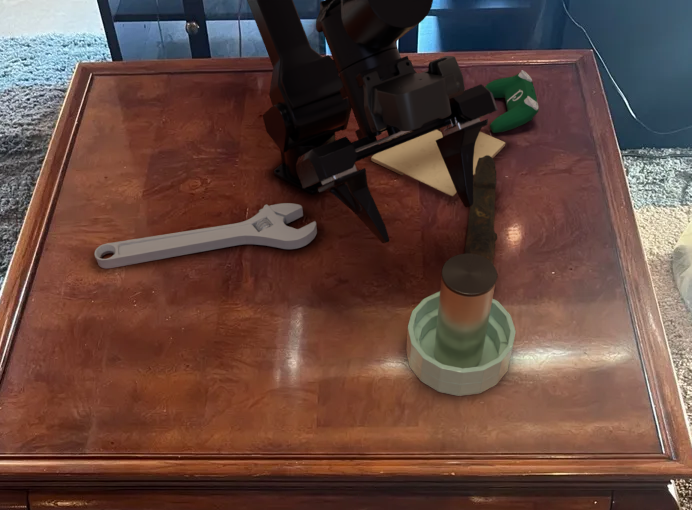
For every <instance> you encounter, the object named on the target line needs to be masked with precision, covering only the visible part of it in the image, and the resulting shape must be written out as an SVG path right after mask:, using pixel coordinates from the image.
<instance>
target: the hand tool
mask: <svg viewBox="0 0 692 510" xmlns="http://www.w3.org/2000/svg"><path fill="white" fill-rule="evenodd" d="M495 162H496V161H495V160H494V158H492V157H491V156H489V155H486V156H484V157H482V158H479V159H478V162H477V166H476V168H475V176H474V178H473V205H472V206H470V207H469V214H468V224H467V232H466V241H465V247H464V254H466V253H469V254H476V255H480V256H482V257H484V258H486V259H488V260H489V261H490V262H491V263H492V264H493V265H494V258H495V252H496V242H497V241H498V234H497V233H496V232H495V217H496V215H495V207H496V204H495V203H496V187H497V169H496V168H497V167H496V163H495ZM494 267H495V265H494ZM495 268H496V267H495ZM498 275H499V274H498V273H497V278H498V277H499V276H498Z"/></svg>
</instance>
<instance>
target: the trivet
mask: <svg viewBox="0 0 692 510" xmlns="http://www.w3.org/2000/svg"><path fill="white" fill-rule="evenodd" d="M442 137H443V136H442V133H441V132H440V131H438V130H435V131H432V132H430V133H427V134H425V135H422V136H420V137H417V138H415V139H412V140H410V141H407V142H405V143H402V144H400V145H397V146H394V147H392V148H389V149H387V150H384V151H382V152H379V153H377V154H374V155H372V156H370V157H371V158H370V161H371V162H373V163H375V164H377V165H379V166H382V167H384V168H385V169H388V170H389V171H391V172H394V173H396V174H397V175H400V176H404V175H406V176H407V177H410V178H411V179H414V180H416V181H418V182H420V183H422V184H424V185H427V186H429V187H430V188H433V189H435V190H438V191H440V192H441V193H444V194H446V195H448V196H450V197H452V198H453V197H454V196H455V195H456V194H457V191H456V189H455V187H454V184H453V182H452V179H451V177H450V174H449V172H448V170H447V167H446V165H445V162H444V160H443V158H442V155H441V153H440V151H439V148H438V146H437V143H436V140H438V139H440V138H442ZM505 146H506V141H503V140H500V139H499V138H496V137H495V136H492V135H489V134H487V133H485V132H482V131H480V132H479V135H478V137H477V140H476V142H475V148H474V158H473V179H474V176H475V168H476V166H477V162H478V159H479V158H482V157H484V156H486V155H489V156H491V157H492V158H493V159H494V158H495V157H496V155H498V154H499V153H500V152H501V151H502V150H503V149H504V147H505Z"/></svg>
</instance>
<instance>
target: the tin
mask: <svg viewBox="0 0 692 510" xmlns="http://www.w3.org/2000/svg"><path fill="white" fill-rule="evenodd" d="M494 266H495V265H494V263H493V264H492V263H491V262H490V261H489V260H488V259H486V258H484V257H482V256H480V255H476V254H469V253H466V254H465V253H459V254H456V255H453V256H451V257H450V258H449V259H448V260H446V261H445V262H444V264H443V265H442V268H441V272H440V273H441V275H440V277H441V278H440V279H441V280H440V289H439V291H440V298H439V308H438V317H437V327H436V337H435V347H434V356H435V358H436V360H437V361H438V362H439V363H441V364H443V365H448V366H453V367H458V368H470V367H476V366H477V365H478V364H479V363H480V361H481V358H482V354H483V348H484V343H485V337H486V332H487V326H488V321H489V316H490V310H491V305H492V299H494V293H495V288H496V283H497V281H498V277H497V276H498V275H497V274H498V271H497V268H496V267H494Z"/></svg>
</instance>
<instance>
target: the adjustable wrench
mask: <svg viewBox="0 0 692 510" xmlns="http://www.w3.org/2000/svg"><path fill="white" fill-rule="evenodd" d="M302 217H304V211H303V206H302V205H301V204H298V203H291V202H282V203H275V204H271V205H268V204H267V203H266V204H264V205H263V207H262V208H260V209H259V210H258V212H257V213H256V214H255V215H253V216H252V217H251V218H249V219H246V220H244V221H240V222H236V223H230V224H229V223H228V224H223V225H217V226H211V227H204V228H197V229H191V230H184V231H179V232H178V231H177V232H173V233H165V234H159V235H152V236H144V237H140V238H134V239H127V240H120V241H114V242H108V243H103V244H100V245H99V246H98V247H96V248H95V250H94V258H95V260H96V262H97V265H98V266H99V267H100V268H102V269H113V268H119V267H124V266H131V265H137V264H142V263H147V262H152V261H153V262H154V261H158V260H164V259H169V258H173V257H180V256H185V255H191V254H197V253H202V252H208V251H213V250H219V249H225V248H229V247H235V246H242V245H255V246H256V245H258V246H265V247H266V246H267V247H271V248H278V249H282V250H297V249H300V248H304V247H305V246H307V245H309V244H310V243H311V242H312V241H313V240H314V239H315V238H316V236H317V234H318V229H317V228H318V227H317V222H316V220H314V221H312V222H310V223H308V224H306V225H304V226H302V227H300V228H294V227H292V226H288V224H290V223H291V222H294V221H296V220H298V219H300V218H302ZM108 254H113V255H112V256H110V257H108V258H103V257H104V256H105V255H108Z"/></svg>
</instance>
